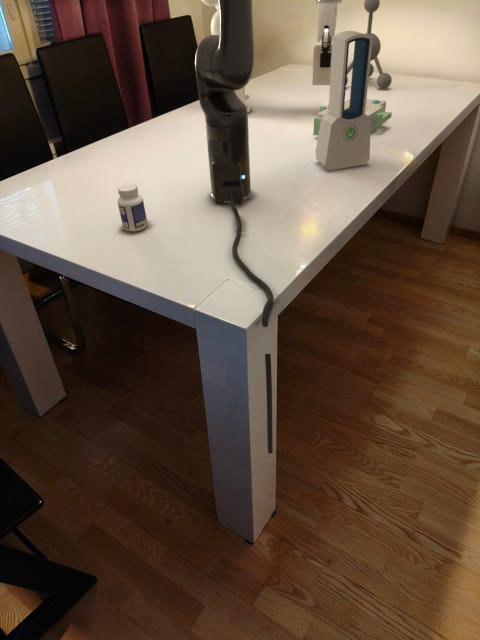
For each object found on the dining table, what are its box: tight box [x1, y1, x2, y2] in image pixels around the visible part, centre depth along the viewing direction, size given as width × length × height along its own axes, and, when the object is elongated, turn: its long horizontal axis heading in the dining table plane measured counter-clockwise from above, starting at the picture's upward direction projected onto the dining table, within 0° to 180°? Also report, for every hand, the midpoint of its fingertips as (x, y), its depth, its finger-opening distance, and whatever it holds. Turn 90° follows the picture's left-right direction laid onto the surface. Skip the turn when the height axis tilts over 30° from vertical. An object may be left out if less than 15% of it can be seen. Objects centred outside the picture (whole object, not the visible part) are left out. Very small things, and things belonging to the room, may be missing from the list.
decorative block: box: [313, 98, 393, 136], centre depth 149 cm, size 26×6×20 cm
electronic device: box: [315, 30, 373, 171], centre depth 119 cm, size 12×8×30 cm, turn 105°
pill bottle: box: [117, 182, 148, 232], centre depth 102 cm, size 5×5×9 cm
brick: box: [311, 44, 332, 86], centre depth 155 cm, size 5×8×11 cm, turn 78°
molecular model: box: [346, 0, 393, 90], centre depth 184 cm, size 24×22×30 cm
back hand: (325, 64), depth 155 cm, fingers closed on brick, 5 cm apart
